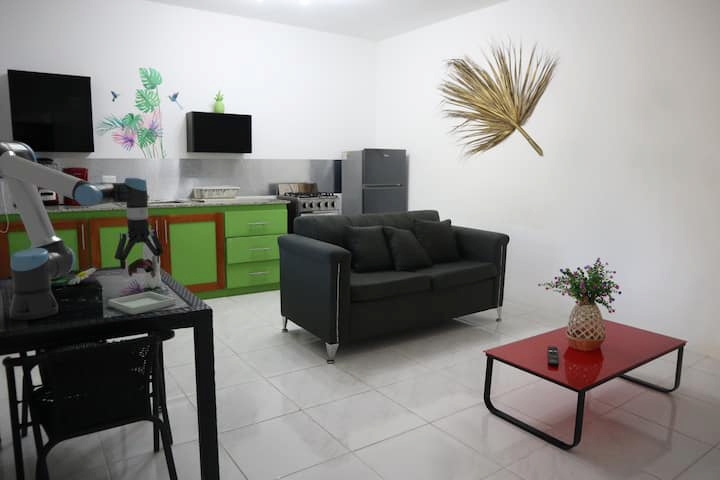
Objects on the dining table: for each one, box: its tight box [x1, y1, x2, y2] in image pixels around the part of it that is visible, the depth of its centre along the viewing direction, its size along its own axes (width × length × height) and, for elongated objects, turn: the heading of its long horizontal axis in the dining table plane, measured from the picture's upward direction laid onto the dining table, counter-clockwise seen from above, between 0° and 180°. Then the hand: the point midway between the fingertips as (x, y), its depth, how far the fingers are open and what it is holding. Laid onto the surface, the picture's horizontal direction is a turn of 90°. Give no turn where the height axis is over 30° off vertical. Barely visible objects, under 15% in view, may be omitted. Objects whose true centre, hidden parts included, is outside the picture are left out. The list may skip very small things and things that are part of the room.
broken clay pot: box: [128, 257, 156, 278], centre depth 201 cm, size 12×10×8 cm
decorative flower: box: [50, 267, 97, 286], centre depth 233 cm, size 13×5×30 cm
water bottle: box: [142, 234, 162, 289], centre depth 230 cm, size 7×7×25 cm
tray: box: [107, 291, 176, 316], centre depth 202 cm, size 18×18×2 cm
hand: (140, 274), depth 201 cm, fingers closed on broken clay pot, 11 cm apart
